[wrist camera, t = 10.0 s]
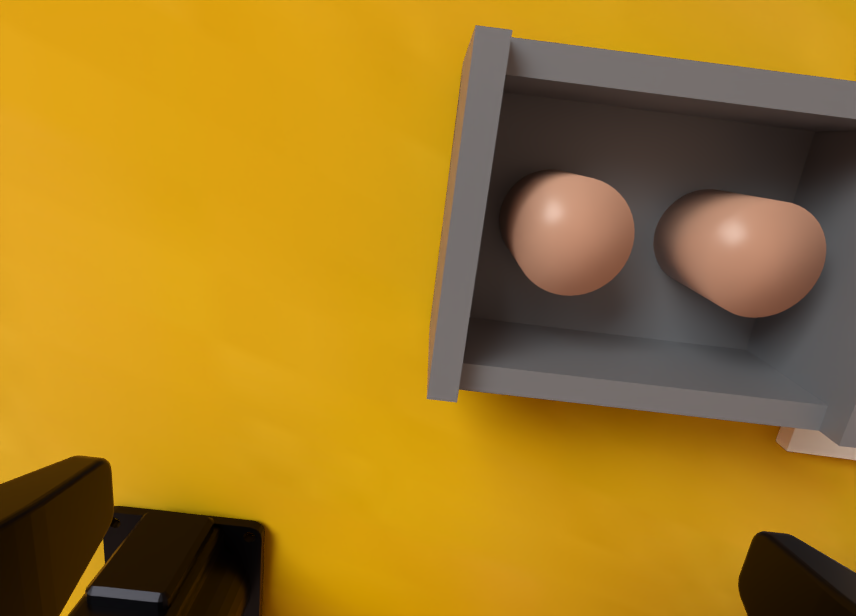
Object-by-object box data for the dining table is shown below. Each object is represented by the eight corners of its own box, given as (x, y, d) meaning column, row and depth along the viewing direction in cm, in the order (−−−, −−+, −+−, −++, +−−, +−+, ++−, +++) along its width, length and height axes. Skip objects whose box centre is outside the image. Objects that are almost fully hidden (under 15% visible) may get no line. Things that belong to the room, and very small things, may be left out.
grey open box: (749, 364, 20) (867, 449, 15) (429, 326, 20) (426, 398, 14) (831, 109, 17) (1014, 94, 12) (463, 62, 17) (475, 25, 12)
